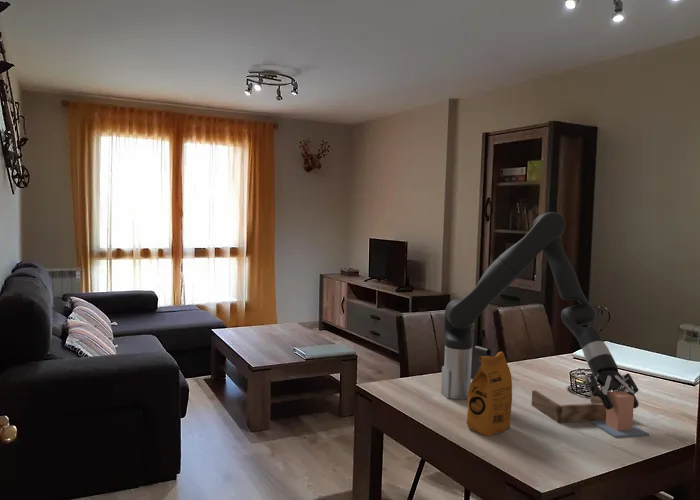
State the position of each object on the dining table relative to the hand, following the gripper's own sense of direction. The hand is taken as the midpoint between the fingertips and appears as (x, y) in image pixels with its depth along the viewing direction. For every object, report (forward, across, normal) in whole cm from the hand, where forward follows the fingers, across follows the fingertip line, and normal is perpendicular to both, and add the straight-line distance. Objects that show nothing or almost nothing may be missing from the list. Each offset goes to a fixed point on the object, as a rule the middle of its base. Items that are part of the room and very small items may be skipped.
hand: (623, 408), depth 152 cm
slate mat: (+4, 0, +6) cm, 7 cm away
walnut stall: (-6, -4, +16) cm, 17 cm away
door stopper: (-33, -19, +43) cm, 57 cm away
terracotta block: (+4, 0, +5) cm, 6 cm away
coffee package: (0, -39, +10) cm, 40 cm away
